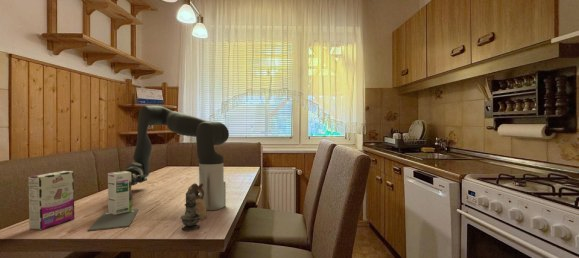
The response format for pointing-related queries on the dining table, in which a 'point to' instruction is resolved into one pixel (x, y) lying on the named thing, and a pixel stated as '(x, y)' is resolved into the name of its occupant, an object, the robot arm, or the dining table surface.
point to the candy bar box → (50, 199)
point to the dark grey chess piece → (190, 213)
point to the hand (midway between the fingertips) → (125, 182)
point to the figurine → (199, 200)
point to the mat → (113, 220)
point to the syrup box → (119, 192)
